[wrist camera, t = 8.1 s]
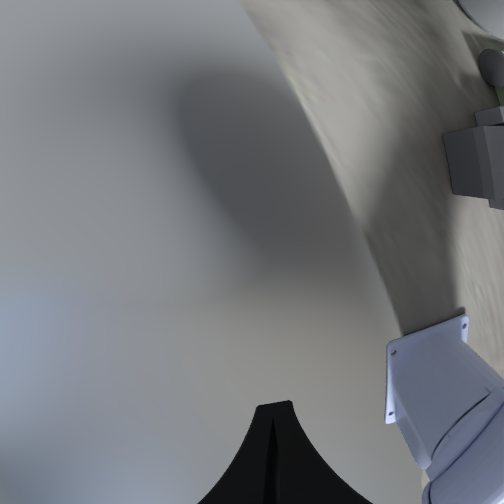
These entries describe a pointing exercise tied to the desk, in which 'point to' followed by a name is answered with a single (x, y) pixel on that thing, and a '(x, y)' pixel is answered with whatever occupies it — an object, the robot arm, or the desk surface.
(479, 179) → the grey rectangular box
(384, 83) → the desk surface
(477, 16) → the can
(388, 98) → the desk surface
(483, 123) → the deck
